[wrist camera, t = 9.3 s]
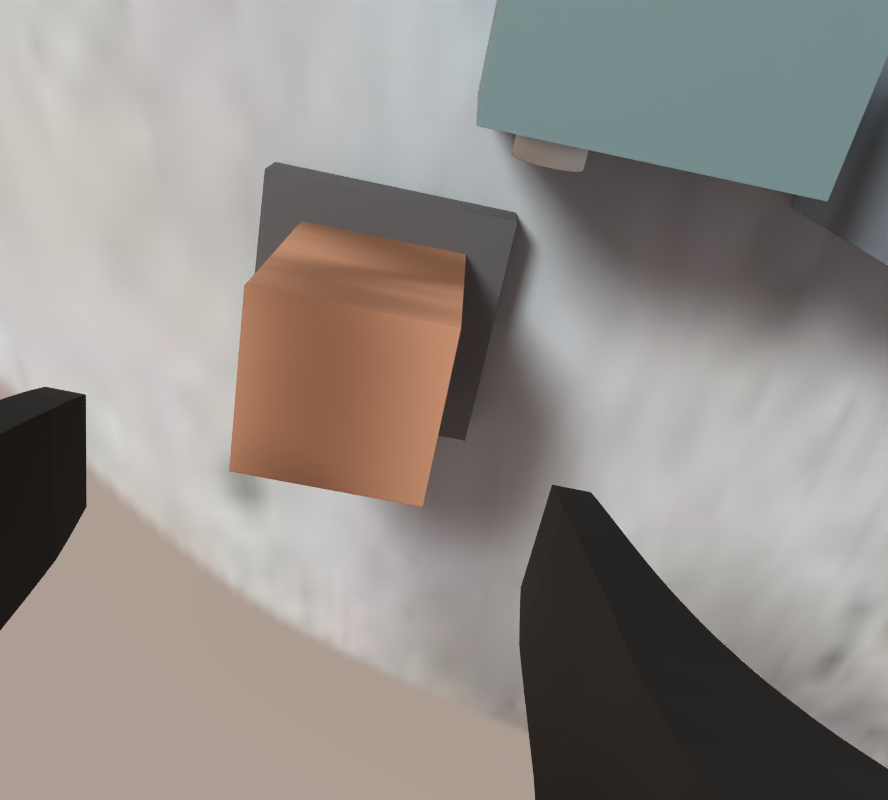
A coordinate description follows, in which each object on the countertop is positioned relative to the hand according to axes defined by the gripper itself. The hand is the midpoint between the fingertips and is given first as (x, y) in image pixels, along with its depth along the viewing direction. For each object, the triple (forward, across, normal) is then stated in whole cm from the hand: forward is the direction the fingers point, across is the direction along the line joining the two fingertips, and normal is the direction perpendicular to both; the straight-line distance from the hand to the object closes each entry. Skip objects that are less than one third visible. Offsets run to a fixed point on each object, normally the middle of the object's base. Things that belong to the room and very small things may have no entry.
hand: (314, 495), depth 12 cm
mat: (+9, 0, 0) cm, 9 cm away
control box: (+9, -4, -7) cm, 13 cm away
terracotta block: (+8, 0, 0) cm, 8 cm away
